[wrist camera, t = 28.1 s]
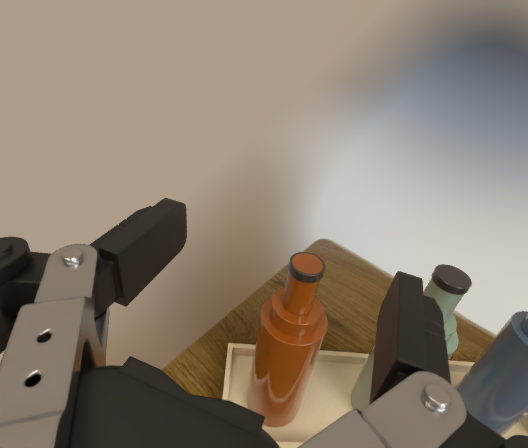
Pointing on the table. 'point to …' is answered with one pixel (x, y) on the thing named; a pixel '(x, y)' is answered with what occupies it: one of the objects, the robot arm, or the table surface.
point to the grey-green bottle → (447, 297)
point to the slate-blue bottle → (500, 378)
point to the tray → (319, 391)
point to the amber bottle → (287, 343)
